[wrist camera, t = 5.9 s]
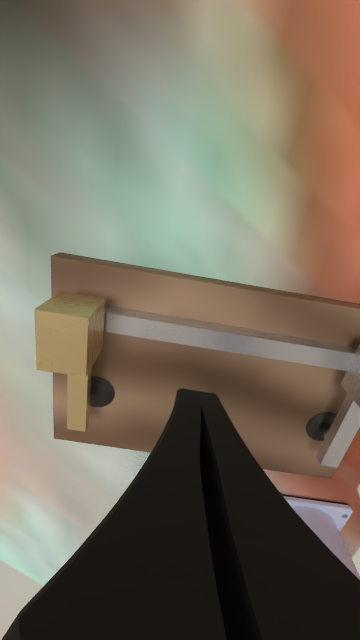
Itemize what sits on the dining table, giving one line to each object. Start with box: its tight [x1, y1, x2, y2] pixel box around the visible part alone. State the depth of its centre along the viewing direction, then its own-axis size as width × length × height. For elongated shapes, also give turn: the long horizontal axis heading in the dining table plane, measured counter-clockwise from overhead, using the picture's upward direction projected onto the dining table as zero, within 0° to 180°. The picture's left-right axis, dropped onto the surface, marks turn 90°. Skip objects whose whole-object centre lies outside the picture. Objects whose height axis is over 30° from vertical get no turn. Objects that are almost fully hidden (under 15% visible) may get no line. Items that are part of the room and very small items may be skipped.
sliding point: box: [34, 291, 105, 432], centre depth 16 cm, size 9×2×4 cm, turn 170°
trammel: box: [103, 305, 360, 468], centre depth 17 cm, size 9×21×4 cm, turn 80°
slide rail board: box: [51, 253, 360, 479], centre depth 19 cm, size 14×22×1 cm, turn 80°
